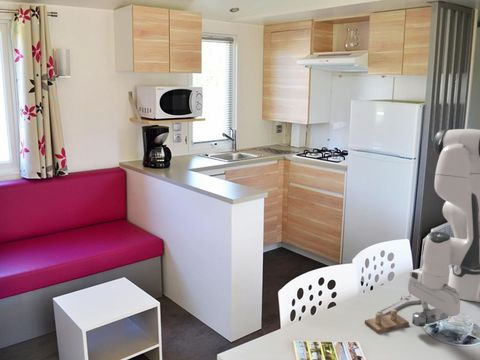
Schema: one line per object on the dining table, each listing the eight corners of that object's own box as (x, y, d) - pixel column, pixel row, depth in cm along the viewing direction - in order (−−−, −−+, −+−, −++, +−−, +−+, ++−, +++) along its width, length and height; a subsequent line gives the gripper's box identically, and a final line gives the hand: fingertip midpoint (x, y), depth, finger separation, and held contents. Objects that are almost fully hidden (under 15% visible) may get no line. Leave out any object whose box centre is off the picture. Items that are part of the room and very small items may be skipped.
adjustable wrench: (380, 319, 171) (381, 315, 171) (367, 312, 176) (367, 308, 176) (423, 302, 185) (423, 297, 184) (409, 295, 190) (409, 291, 189)
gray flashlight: (439, 313, 168) (440, 305, 167) (449, 319, 164) (450, 311, 163) (409, 321, 162) (410, 313, 162) (418, 327, 158) (419, 319, 158)
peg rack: (395, 316, 173) (396, 304, 172) (408, 325, 166) (409, 312, 165) (364, 323, 167) (365, 311, 166) (377, 332, 161) (378, 320, 160)
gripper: (466, 289, 152) (462, 328, 155) (419, 266, 170) (416, 301, 173) (452, 293, 149) (448, 332, 153) (406, 269, 168) (403, 305, 171)
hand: (431, 315), depth 163 cm, fingers closed on gray flashlight, 3 cm apart
